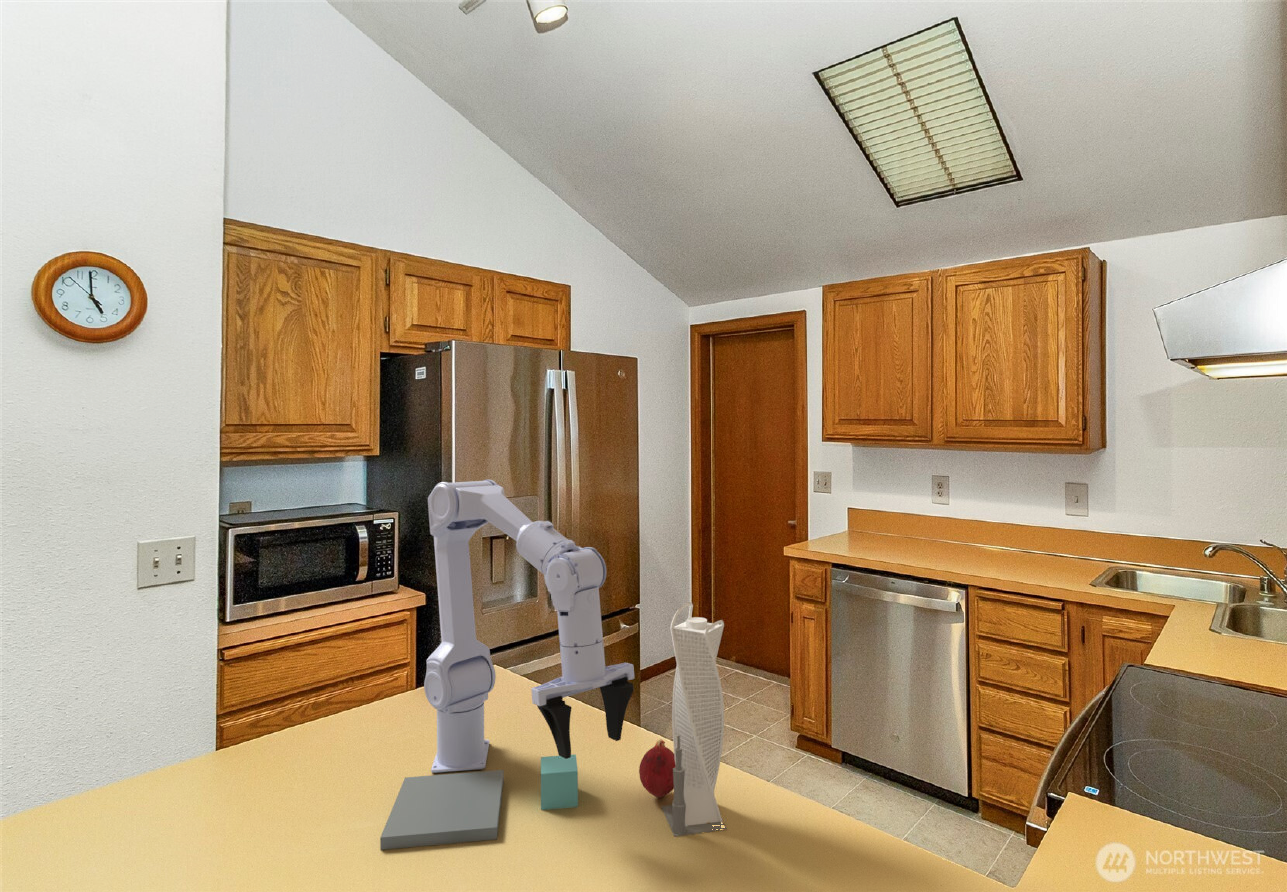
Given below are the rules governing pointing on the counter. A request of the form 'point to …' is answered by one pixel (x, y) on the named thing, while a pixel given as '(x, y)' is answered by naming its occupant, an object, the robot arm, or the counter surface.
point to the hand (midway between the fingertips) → (590, 747)
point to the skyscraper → (696, 726)
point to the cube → (559, 782)
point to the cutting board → (445, 810)
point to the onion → (658, 770)
